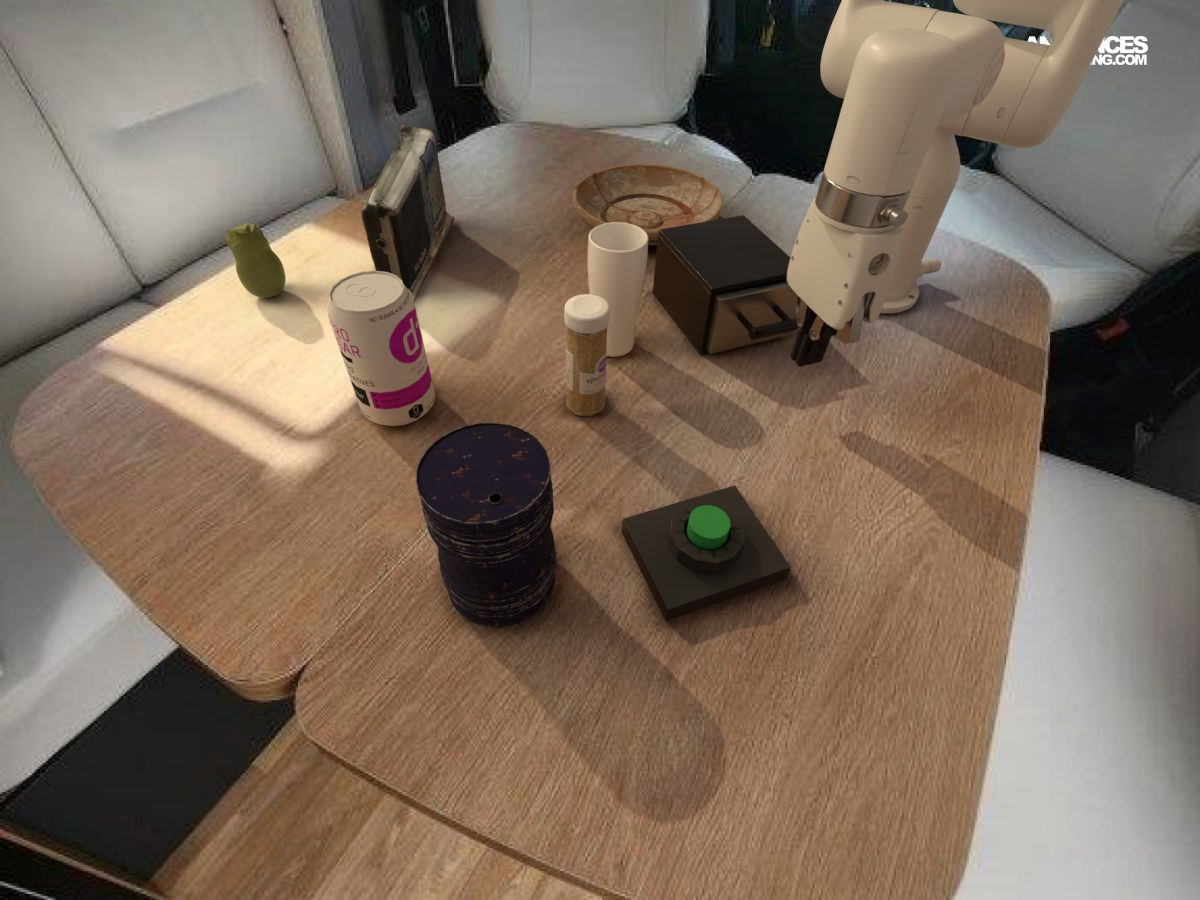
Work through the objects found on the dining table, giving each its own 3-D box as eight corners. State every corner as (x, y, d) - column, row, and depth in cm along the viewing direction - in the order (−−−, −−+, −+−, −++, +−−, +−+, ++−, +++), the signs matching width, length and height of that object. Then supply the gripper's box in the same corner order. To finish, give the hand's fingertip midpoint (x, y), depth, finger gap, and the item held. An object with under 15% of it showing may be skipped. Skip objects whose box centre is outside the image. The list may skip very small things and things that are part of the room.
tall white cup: (634, 366, 77) (644, 255, 66) (581, 358, 78) (581, 247, 67) (643, 334, 81) (653, 225, 70) (592, 326, 82) (594, 218, 71)
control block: (731, 498, 63) (738, 472, 60) (785, 580, 57) (796, 555, 54) (621, 532, 60) (623, 506, 57) (665, 622, 54) (670, 598, 51)
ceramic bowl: (625, 179, 113) (627, 150, 109) (743, 218, 104) (749, 189, 100) (544, 228, 100) (542, 198, 96) (670, 278, 91) (674, 247, 87)
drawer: (807, 355, 78) (825, 302, 72) (726, 375, 75) (739, 321, 69) (736, 281, 89) (747, 229, 83) (663, 295, 86) (669, 243, 80)
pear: (256, 310, 83) (225, 240, 75) (241, 292, 85) (210, 223, 78) (298, 295, 85) (271, 226, 78) (282, 278, 88) (255, 210, 81)
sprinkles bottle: (598, 421, 70) (602, 322, 60) (560, 412, 71) (557, 313, 61) (610, 395, 73) (615, 297, 63) (573, 387, 74) (573, 288, 64)
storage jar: (434, 552, 58) (401, 441, 47) (535, 520, 61) (526, 407, 50) (462, 646, 52) (432, 543, 41) (573, 605, 55) (572, 499, 44)
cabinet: (785, 335, 82) (805, 270, 75) (700, 355, 79) (712, 288, 72) (730, 277, 91) (743, 214, 84) (652, 293, 88) (658, 229, 81)
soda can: (448, 390, 73) (426, 276, 62) (412, 437, 68) (379, 323, 57) (388, 374, 75) (355, 261, 64) (347, 419, 69) (303, 304, 58)
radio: (410, 306, 84) (385, 198, 73) (350, 298, 85) (317, 190, 74) (468, 224, 100) (454, 125, 89) (416, 218, 101) (397, 119, 90)
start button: (715, 512, 57) (718, 500, 56) (734, 543, 55) (738, 531, 54) (679, 523, 56) (682, 511, 55) (698, 555, 54) (701, 543, 53)
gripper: (953, 231, 52) (876, 396, 65) (846, 158, 61) (798, 316, 75) (878, 245, 50) (814, 412, 63) (779, 168, 59) (742, 327, 73)
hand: (805, 359), depth 69 cm, fingers closed
